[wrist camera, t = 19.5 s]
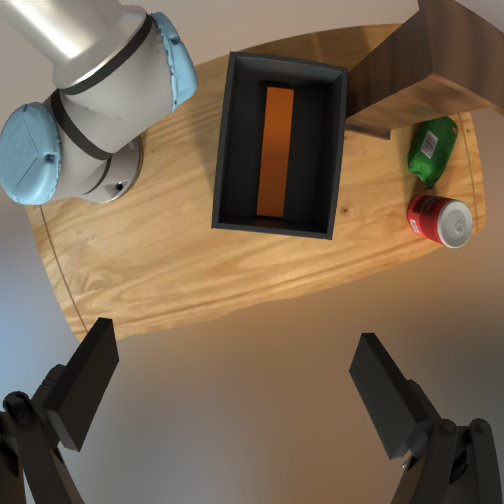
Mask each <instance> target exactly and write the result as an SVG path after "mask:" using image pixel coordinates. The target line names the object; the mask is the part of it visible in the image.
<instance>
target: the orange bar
mask: <svg viewBox="0 0 504 504" xmlns="http://www.w3.org/2000/svg"><path fill="white" fill-rule="evenodd" d="M293 93H294V90H291V89H283V88H274V87H267V91H266V103H265V114H264V126H263V137H262V149H261V160H260V172H259V183H258V194H257V206H256V215H263V216H275V217H283V210H284V200H285V190H286V179H287V168H288V157H289V145H290V133H291V120H292V107H293Z"/></svg>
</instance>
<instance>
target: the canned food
mask: <svg viewBox="0 0 504 504" xmlns="http://www.w3.org/2000/svg"><path fill="white" fill-rule="evenodd" d="M407 219H408V223H409V225H410V227H411V228H412V230H413V231H414V232H415V233H417V234H418V235H421V236H423V237H426V238H428V239H431V240H433V241H436V242H438V243H440V244H443V245H445V246H448V247H451V248H459V247H461V246H463V245H464V244H465V243H466V242H467V241H468V239H469V237H470V235H471V232H472V227H473V219H472V214H471V211H470V209H469V207H468V206H467V205H466V204H465V203H464V202H462V201H459V200H455V199H450V198H444V197H438V196H431V195H419V196H417V197H415V198H414V199H413V200H412V201H411V202H410V204H409V206H408V210H407Z"/></svg>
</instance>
